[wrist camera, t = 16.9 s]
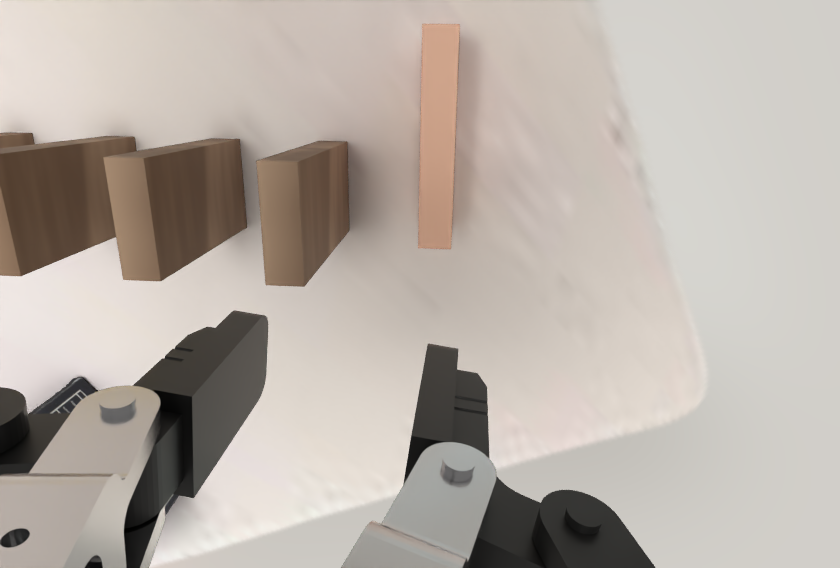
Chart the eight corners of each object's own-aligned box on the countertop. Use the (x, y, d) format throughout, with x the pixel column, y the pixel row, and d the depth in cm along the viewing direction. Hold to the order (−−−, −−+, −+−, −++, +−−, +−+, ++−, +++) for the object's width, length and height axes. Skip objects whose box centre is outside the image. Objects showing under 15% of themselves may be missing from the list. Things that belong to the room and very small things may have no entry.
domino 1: (120, 223, 33) (-16, 274, 23) (106, 136, 31) (-46, 153, 22) (146, 224, 33) (20, 276, 23) (134, 136, 31) (-7, 154, 22)
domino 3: (322, 229, 32) (265, 284, 23) (318, 140, 30) (256, 160, 21) (349, 230, 32) (304, 286, 23) (347, 141, 30) (297, 161, 21)
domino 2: (220, 226, 32) (123, 279, 23) (211, 138, 31) (103, 157, 21) (247, 227, 32) (160, 281, 23) (239, 139, 31) (143, 158, 21)
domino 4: (418, 248, 27) (422, 23, 24) (424, 225, 32) (428, 35, 29) (450, 249, 27) (459, 24, 24) (451, 226, 32) (459, 36, 28)
